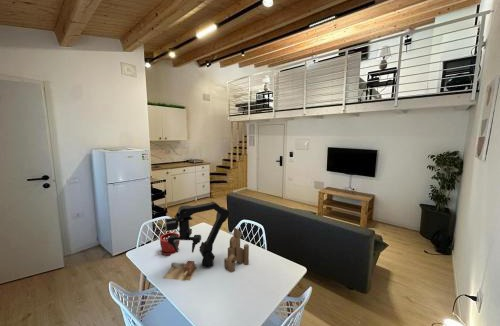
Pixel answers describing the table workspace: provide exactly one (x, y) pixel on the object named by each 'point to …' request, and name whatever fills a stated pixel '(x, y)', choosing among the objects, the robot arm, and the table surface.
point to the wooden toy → (236, 252)
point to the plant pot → (167, 244)
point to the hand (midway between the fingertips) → (185, 252)
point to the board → (178, 272)
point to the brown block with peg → (188, 269)
